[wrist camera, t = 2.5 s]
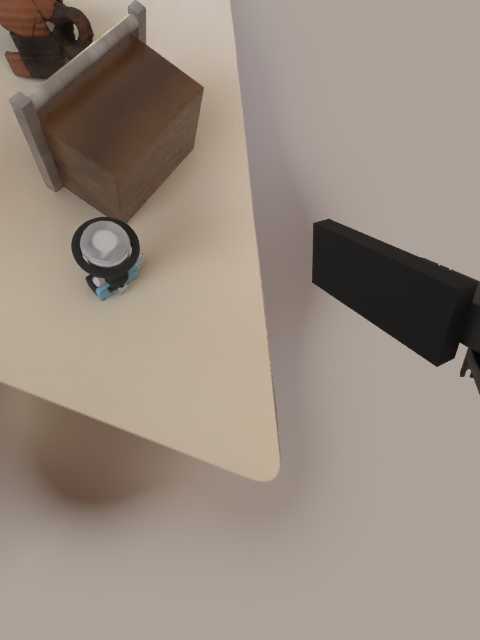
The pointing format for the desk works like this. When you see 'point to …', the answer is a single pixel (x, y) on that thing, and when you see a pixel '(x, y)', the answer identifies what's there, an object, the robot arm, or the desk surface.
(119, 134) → the box
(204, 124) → the desk surface
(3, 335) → the desk surface
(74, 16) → the pottery mug
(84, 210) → the desk surface
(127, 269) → the push button
